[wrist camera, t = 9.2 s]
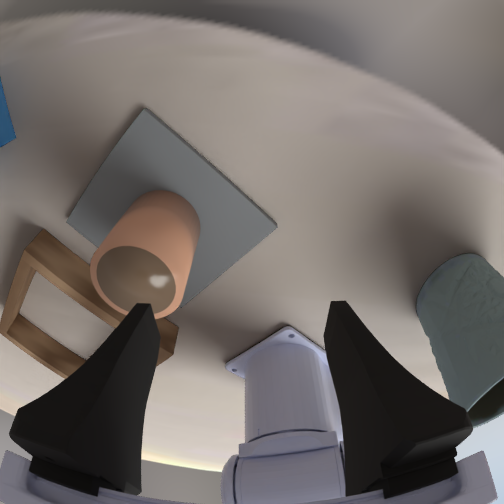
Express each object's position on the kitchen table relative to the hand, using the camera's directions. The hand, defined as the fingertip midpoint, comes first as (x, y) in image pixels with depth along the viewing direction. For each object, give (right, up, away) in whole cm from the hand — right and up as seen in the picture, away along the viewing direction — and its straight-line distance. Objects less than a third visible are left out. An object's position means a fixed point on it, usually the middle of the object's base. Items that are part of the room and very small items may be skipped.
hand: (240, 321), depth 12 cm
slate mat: (-5, +5, +8) cm, 11 cm away
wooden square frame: (-16, -4, +13) cm, 21 cm away
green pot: (+19, -1, +12) cm, 23 cm away
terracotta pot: (-5, +4, +7) cm, 10 cm away
